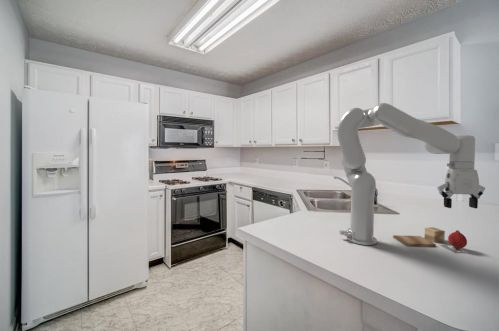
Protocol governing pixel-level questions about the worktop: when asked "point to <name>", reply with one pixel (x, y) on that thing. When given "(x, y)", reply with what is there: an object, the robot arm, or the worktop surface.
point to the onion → (457, 240)
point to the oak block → (434, 234)
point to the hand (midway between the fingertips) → (460, 207)
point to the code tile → (457, 249)
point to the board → (414, 241)
